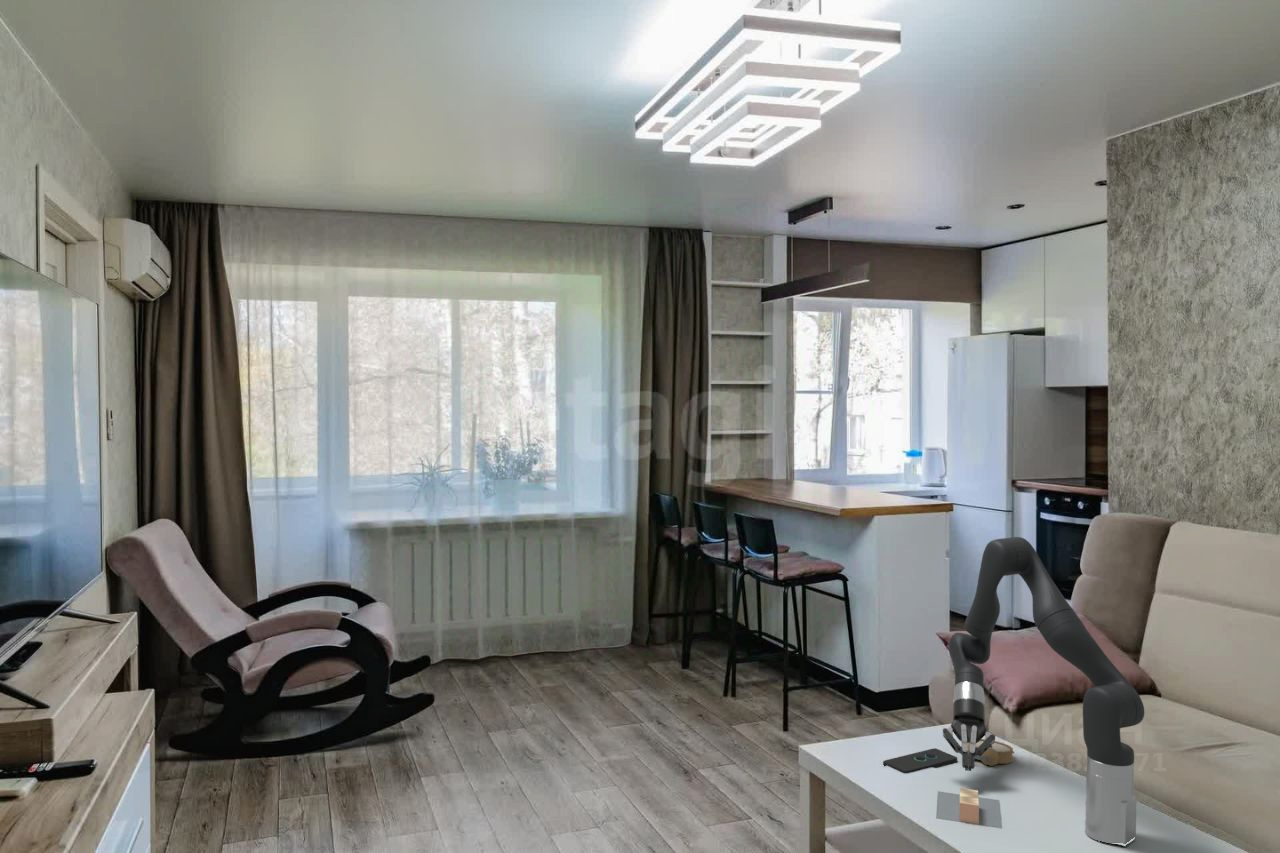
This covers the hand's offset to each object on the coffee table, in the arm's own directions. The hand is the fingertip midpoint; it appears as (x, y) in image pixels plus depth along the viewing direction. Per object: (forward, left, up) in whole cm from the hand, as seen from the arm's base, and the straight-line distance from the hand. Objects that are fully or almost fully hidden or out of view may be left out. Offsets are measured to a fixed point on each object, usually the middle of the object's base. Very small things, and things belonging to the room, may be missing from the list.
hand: (968, 769), depth 223 cm
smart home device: (+18, -8, -7) cm, 21 cm away
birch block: (-4, +8, -3) cm, 10 cm away
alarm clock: (+8, -26, -6) cm, 28 cm away
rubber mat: (-5, +9, -6) cm, 12 cm away
